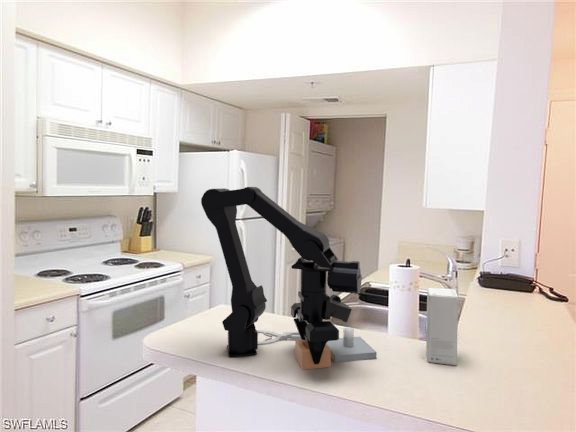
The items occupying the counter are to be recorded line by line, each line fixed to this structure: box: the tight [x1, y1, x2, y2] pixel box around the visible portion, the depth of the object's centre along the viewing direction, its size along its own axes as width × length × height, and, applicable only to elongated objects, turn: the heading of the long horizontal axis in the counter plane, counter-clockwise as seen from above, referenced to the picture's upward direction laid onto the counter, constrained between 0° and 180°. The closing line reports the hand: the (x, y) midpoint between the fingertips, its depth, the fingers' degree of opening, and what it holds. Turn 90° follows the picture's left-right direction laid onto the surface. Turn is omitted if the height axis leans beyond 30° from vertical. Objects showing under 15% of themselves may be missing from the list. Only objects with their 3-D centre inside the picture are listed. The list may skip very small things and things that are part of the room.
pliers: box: [256, 329, 301, 346], centre depth 109 cm, size 10×2×15 cm
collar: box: [294, 340, 331, 370], centre depth 94 cm, size 6×6×4 cm
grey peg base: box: [326, 327, 378, 363], centre depth 100 cm, size 10×10×6 cm
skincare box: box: [426, 287, 459, 366], centre depth 97 cm, size 8×7×16 cm
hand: (312, 357), depth 94 cm, fingers closed on collar, 6 cm apart
